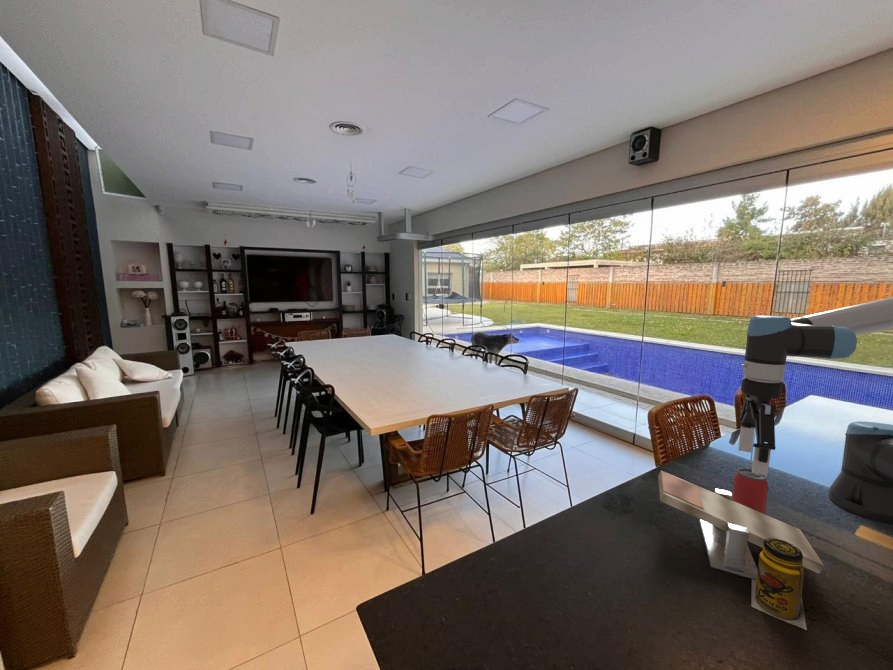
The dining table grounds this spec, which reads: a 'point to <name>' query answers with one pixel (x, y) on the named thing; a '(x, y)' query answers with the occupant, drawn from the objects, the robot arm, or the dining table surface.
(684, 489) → the balance beam
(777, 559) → the condiment
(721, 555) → the pivot stand
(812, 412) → the dining table surface
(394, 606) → the dining table surface
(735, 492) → the beer can
